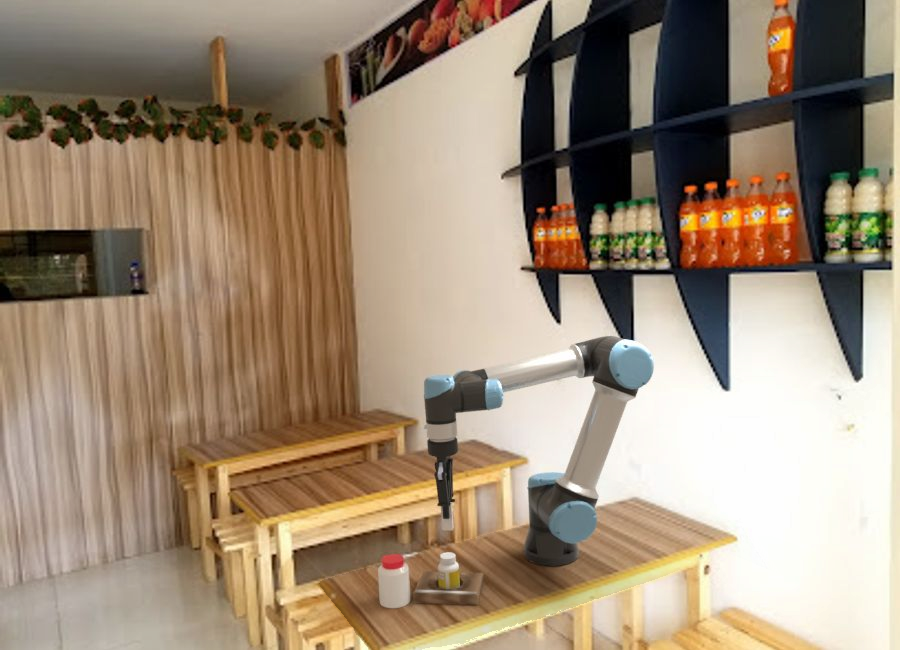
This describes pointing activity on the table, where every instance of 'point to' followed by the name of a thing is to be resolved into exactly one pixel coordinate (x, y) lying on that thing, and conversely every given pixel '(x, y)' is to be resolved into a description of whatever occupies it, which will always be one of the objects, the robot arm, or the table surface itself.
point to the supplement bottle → (448, 571)
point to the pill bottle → (394, 582)
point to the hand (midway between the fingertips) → (448, 529)
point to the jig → (463, 595)
